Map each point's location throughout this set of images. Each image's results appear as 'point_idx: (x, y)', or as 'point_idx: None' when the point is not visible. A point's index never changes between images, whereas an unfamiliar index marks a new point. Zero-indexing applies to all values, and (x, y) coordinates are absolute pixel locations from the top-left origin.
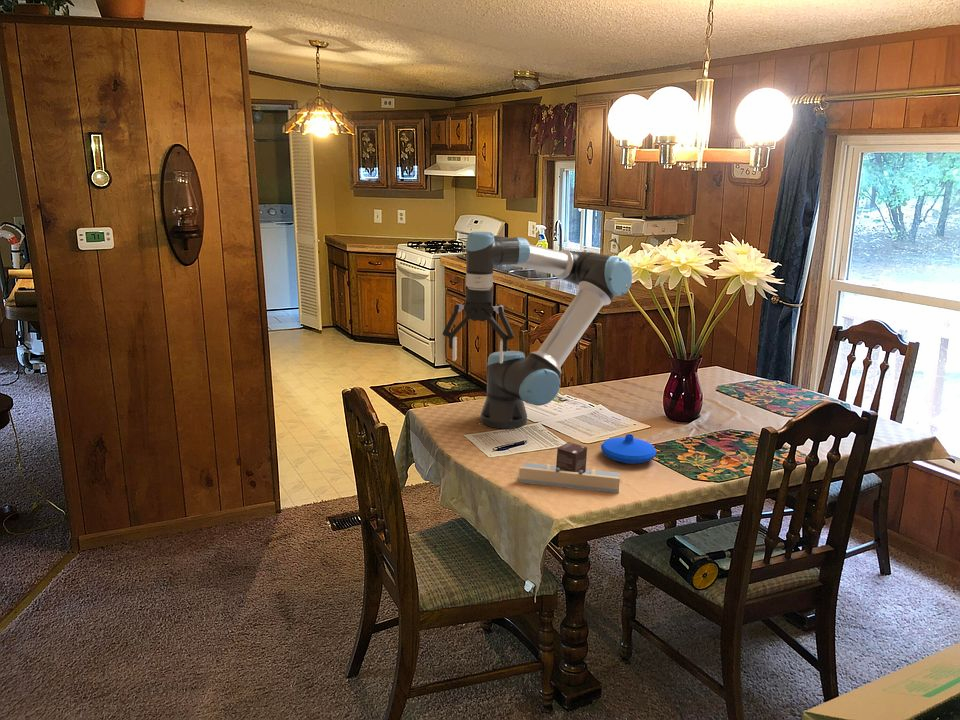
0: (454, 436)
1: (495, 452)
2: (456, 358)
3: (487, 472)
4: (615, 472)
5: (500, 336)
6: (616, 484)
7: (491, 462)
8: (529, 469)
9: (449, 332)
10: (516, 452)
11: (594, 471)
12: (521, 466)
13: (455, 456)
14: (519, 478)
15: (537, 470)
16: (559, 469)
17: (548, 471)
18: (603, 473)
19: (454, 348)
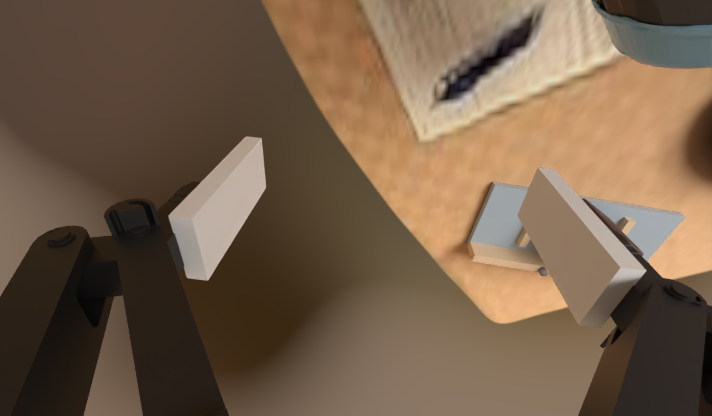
0: (328, 4)
1: (438, 113)
2: (261, 141)
3: (413, 212)
4: (677, 215)
5: (603, 360)
6: None
7: (424, 169)
8: (489, 263)
9: (115, 285)
10: (491, 107)
11: (626, 232)
12: (477, 256)
13: (347, 145)
14: (468, 247)
15: (504, 265)
16: (546, 274)
17: (523, 269)
18: (646, 221)
19: (234, 230)
